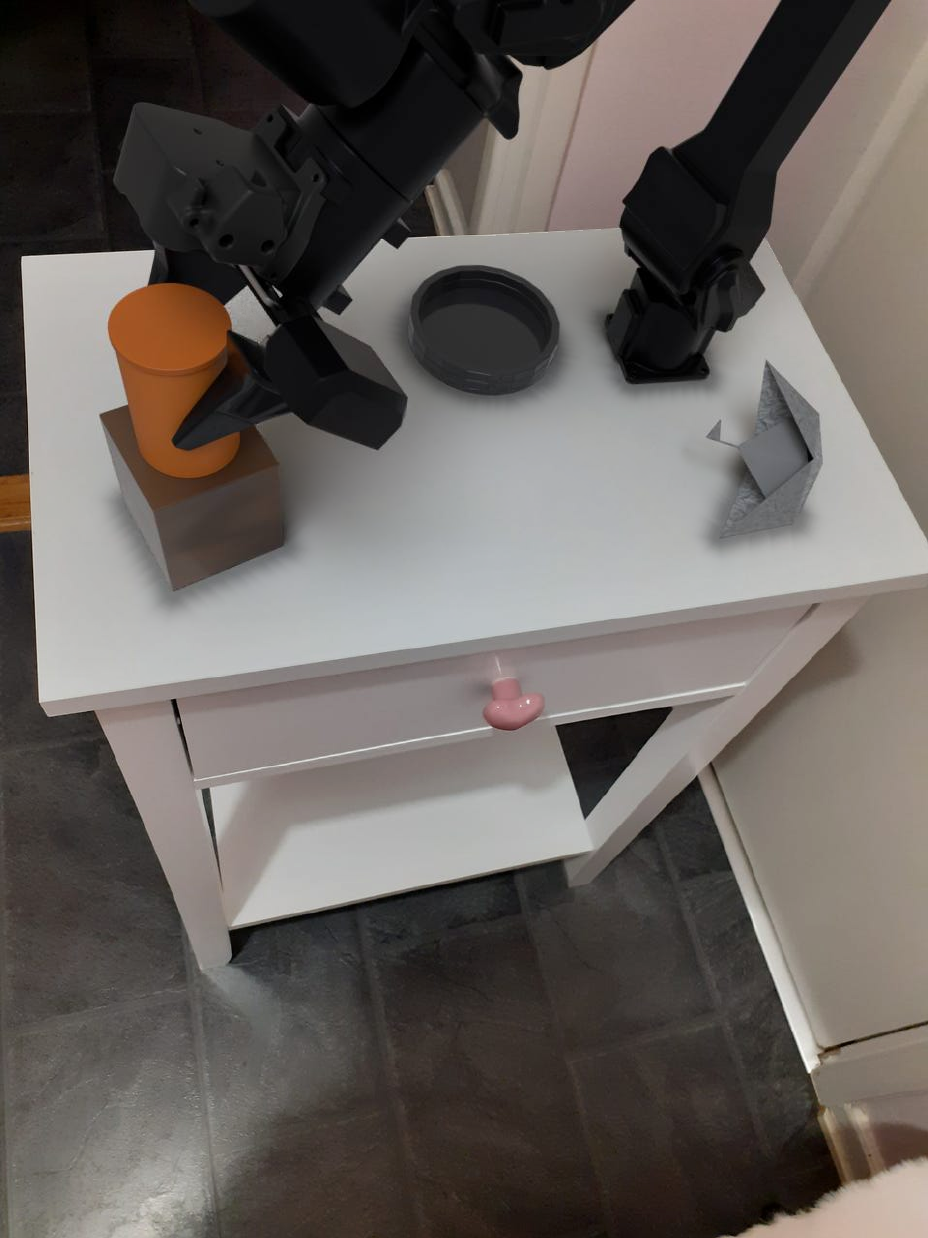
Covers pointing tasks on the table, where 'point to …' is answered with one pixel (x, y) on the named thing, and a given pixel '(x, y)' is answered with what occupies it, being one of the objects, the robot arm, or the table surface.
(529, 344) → the pan
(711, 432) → the paper boat
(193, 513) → the block
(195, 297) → the orange tin can
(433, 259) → the table surface
